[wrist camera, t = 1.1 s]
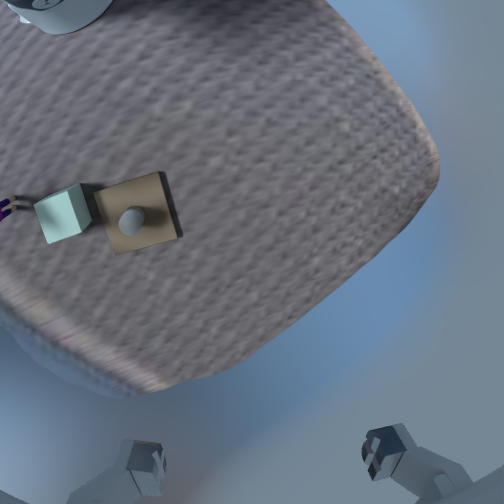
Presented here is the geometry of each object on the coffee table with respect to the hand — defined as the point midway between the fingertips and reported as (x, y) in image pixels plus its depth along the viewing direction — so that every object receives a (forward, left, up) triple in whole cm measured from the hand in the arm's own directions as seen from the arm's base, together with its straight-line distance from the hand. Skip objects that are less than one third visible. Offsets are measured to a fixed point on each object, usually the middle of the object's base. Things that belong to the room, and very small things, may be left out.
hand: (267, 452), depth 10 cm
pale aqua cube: (-5, -21, -38) cm, 43 cm away
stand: (-1, -11, -38) cm, 39 cm away
